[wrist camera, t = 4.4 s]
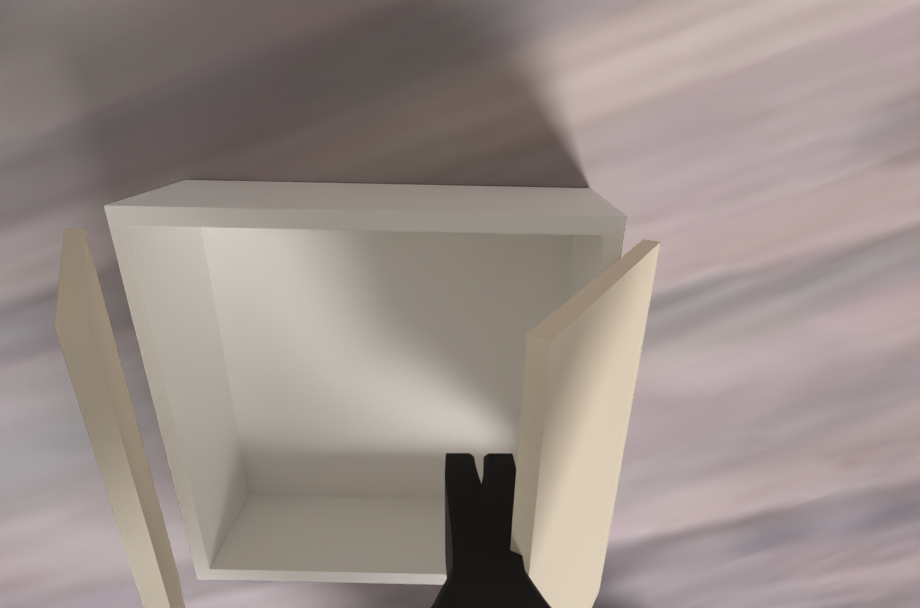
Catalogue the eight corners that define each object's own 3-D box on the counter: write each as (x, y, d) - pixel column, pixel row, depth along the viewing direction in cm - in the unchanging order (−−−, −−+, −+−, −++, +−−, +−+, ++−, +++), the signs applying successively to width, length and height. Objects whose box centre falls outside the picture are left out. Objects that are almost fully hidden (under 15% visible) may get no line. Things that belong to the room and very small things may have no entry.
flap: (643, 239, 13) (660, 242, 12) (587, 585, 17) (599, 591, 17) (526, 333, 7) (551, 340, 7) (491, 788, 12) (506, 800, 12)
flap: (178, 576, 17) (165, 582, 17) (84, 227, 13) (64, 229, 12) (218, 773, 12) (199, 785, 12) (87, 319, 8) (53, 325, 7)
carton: (590, 187, 16) (626, 216, 13) (553, 501, 21) (572, 587, 18) (185, 179, 16) (103, 205, 13) (244, 494, 21) (197, 579, 18)
